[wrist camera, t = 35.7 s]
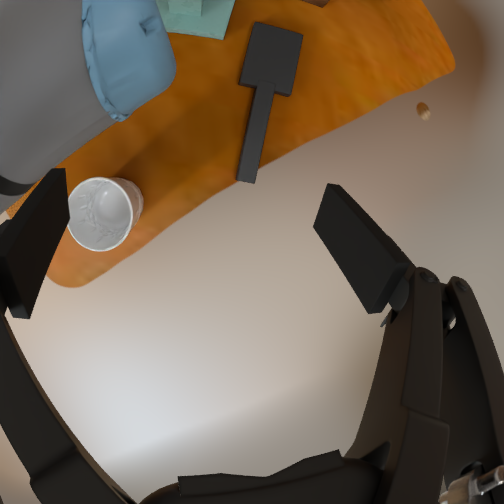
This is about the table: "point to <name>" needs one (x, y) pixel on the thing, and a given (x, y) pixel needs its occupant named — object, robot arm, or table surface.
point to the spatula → (265, 86)
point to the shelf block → (317, 2)
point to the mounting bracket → (196, 16)
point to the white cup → (104, 212)
